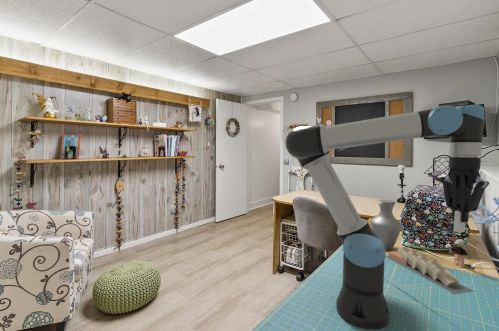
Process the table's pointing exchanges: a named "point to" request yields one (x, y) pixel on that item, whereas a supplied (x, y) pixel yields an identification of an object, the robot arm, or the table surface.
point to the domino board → (452, 289)
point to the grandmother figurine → (459, 253)
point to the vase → (386, 224)
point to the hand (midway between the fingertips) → (459, 231)
